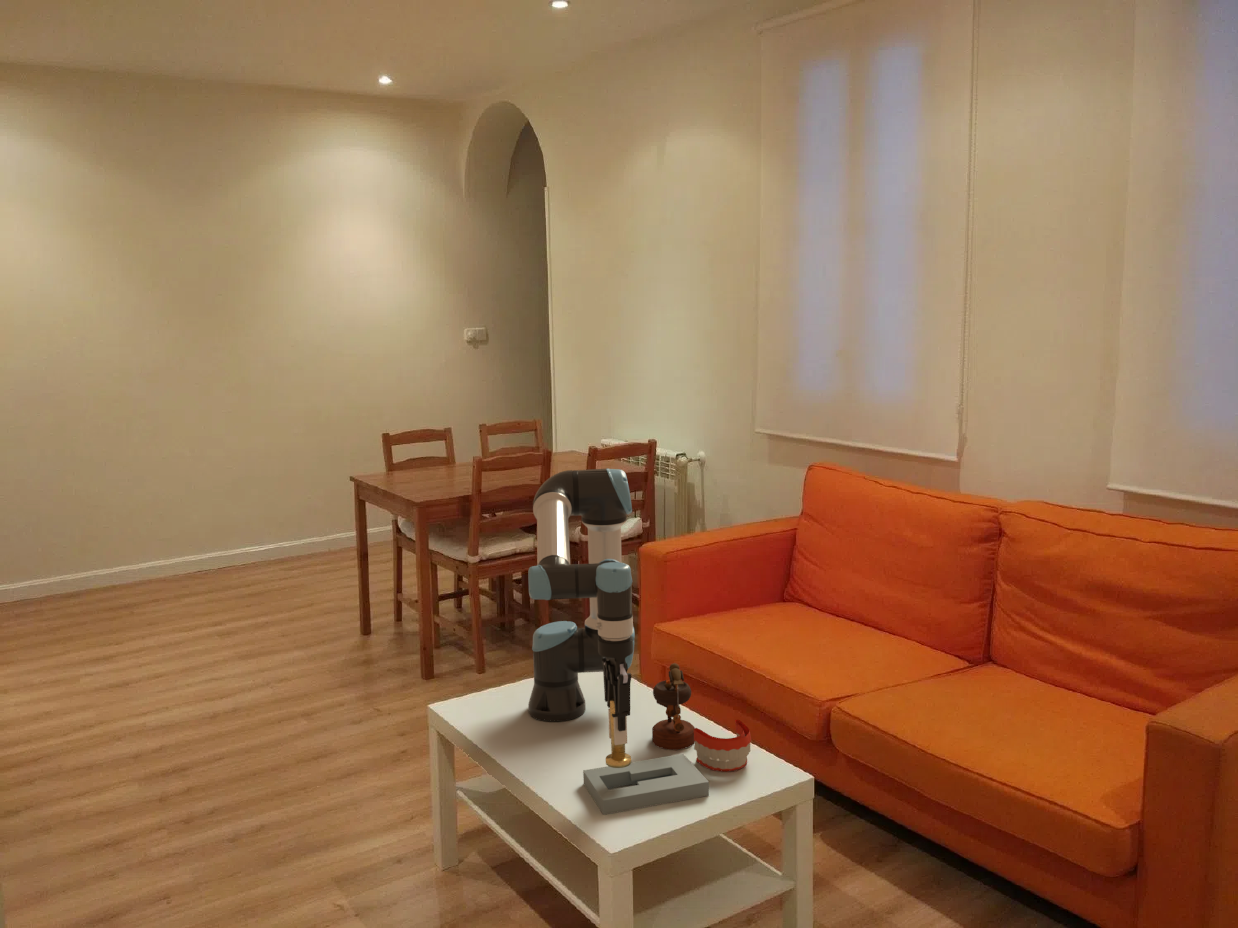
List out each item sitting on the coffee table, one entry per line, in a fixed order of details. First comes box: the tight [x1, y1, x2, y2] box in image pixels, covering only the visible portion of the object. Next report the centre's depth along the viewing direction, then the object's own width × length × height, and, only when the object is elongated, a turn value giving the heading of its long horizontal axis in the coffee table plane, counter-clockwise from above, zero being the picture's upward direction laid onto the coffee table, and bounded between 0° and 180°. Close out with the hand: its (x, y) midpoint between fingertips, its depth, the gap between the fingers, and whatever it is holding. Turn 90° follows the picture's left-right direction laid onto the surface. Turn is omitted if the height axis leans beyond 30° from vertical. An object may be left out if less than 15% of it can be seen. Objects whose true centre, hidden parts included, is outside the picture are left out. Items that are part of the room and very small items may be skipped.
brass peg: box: [605, 699, 632, 768], centre depth 219 cm, size 6×6×14 cm
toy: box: [693, 719, 752, 773], centre depth 234 cm, size 12×10×8 cm
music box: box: [651, 662, 696, 751], centre depth 247 cm, size 15×11×20 cm
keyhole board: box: [582, 753, 710, 815], centre depth 223 cm, size 15×24×3 cm, turn 108°
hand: (618, 739), depth 219 cm, fingers closed on brass peg, 3 cm apart
